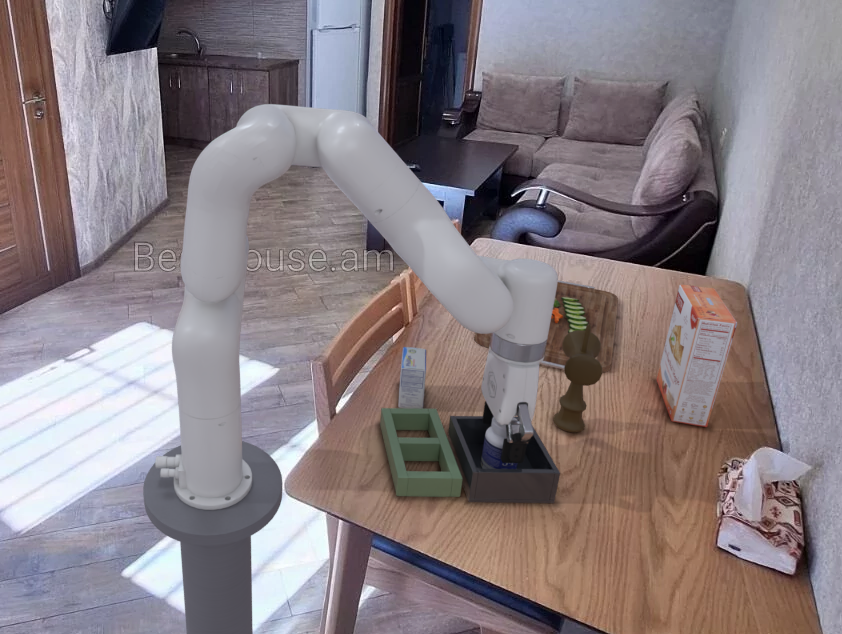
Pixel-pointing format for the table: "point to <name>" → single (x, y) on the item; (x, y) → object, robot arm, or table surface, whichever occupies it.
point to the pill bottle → (496, 446)
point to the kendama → (578, 377)
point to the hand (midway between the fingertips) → (501, 441)
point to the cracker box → (695, 354)
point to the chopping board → (577, 322)
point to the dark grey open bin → (501, 485)
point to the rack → (419, 453)
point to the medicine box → (412, 378)
